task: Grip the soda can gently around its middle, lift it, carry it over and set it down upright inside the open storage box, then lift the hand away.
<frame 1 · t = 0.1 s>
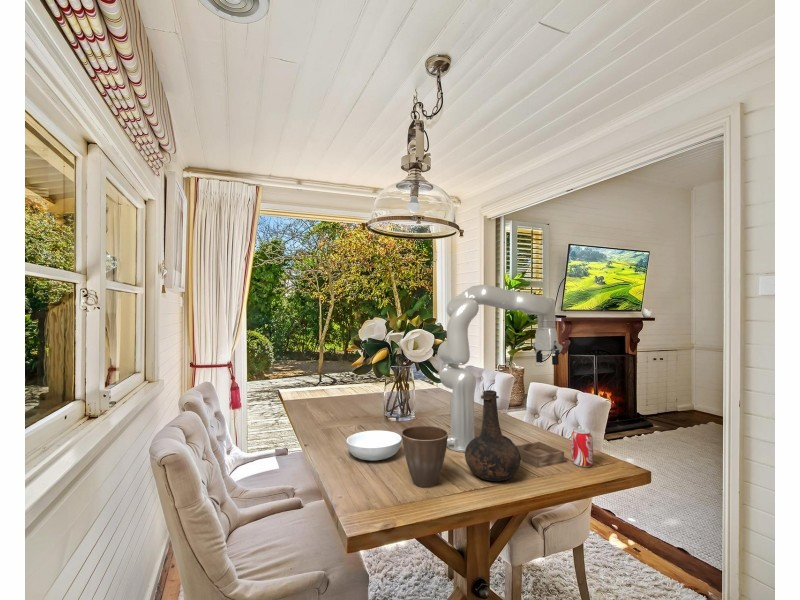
hand: (547, 363, 178), 31 cm above the table, tool pointing down, fingers open, 9 cm apart
soda can: (582, 465, 140), on the table
serving bowl: (374, 456, 149), on the table
open storage box: (538, 458, 146), on the table
glass bottle: (492, 476, 131), on the table
plant pot: (425, 483, 125), on the table
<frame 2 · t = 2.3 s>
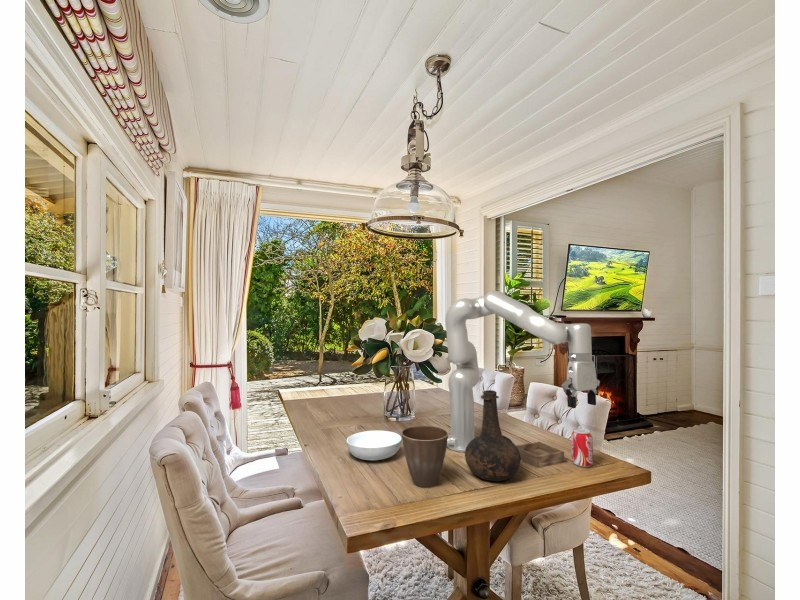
hand: (581, 405, 141), 21 cm above the table, tool pointing down, fingers open, 9 cm apart
nothing on the table moved.
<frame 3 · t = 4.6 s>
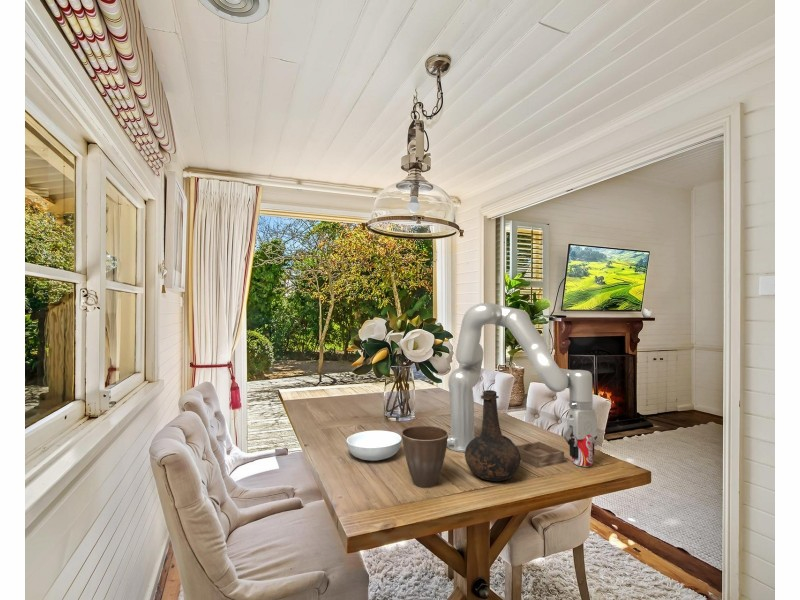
hand: (582, 455, 140), 3 cm above the table, tool pointing down, fingers closed on soda can, 7 cm apart
soda can: (582, 465, 140), on the table, touching gripper
everything else where it was.
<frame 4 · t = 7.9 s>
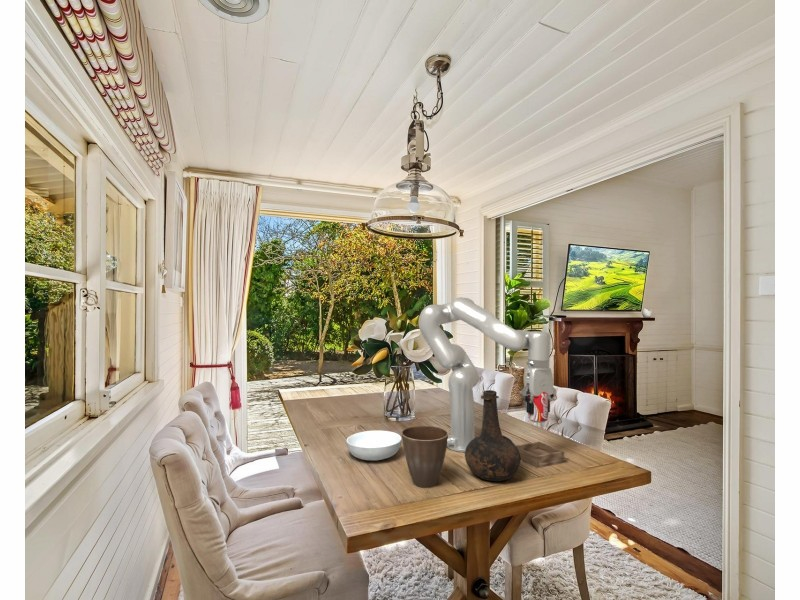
hand: (538, 411, 147), 17 cm above the table, tool pointing down, fingers closed on soda can, 7 cm apart
soda can: (538, 421, 147), point 14 cm above the table, touching gripper
everything else where it was.
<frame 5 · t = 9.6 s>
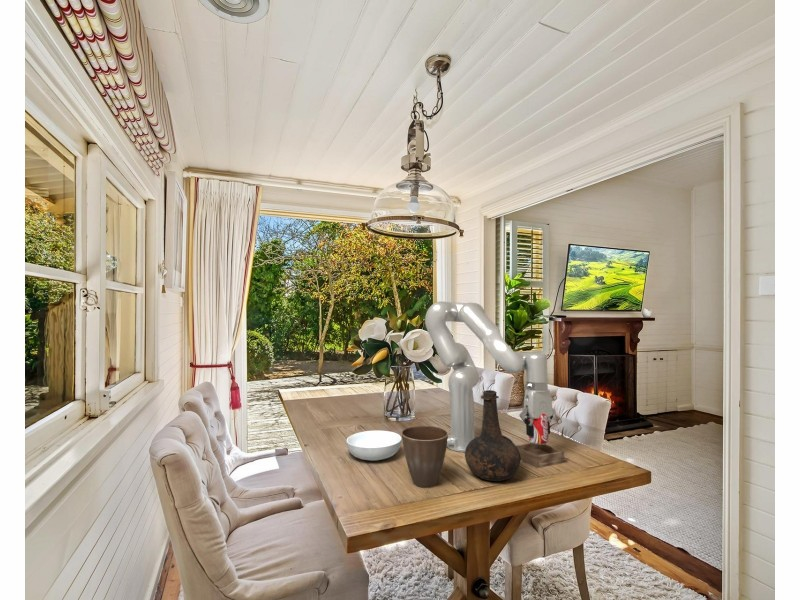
hand: (538, 433, 146), 9 cm above the table, tool pointing down, fingers closed on soda can, 7 cm apart
soda can: (538, 443, 146), point 6 cm above the table, touching gripper
everything else where it was.
when the fingers open (6 cm above the table, at t = 11.1 s): soda can drops 2 cm, resting on open storage box.
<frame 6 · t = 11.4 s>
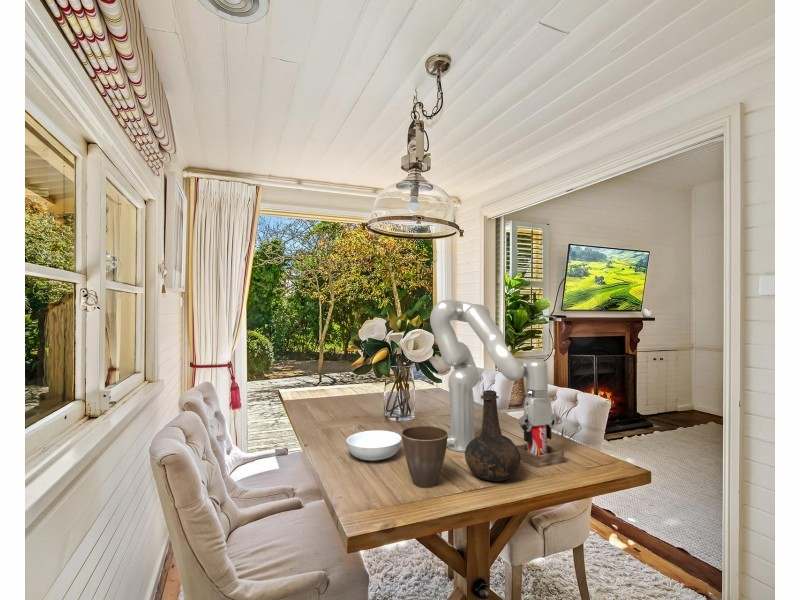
hand: (537, 439, 146), 7 cm above the table, tool pointing down, fingers open, 9 cm apart
soda can: (537, 455, 146), point 1 cm above the table, touching open storage box
everything else where it was.
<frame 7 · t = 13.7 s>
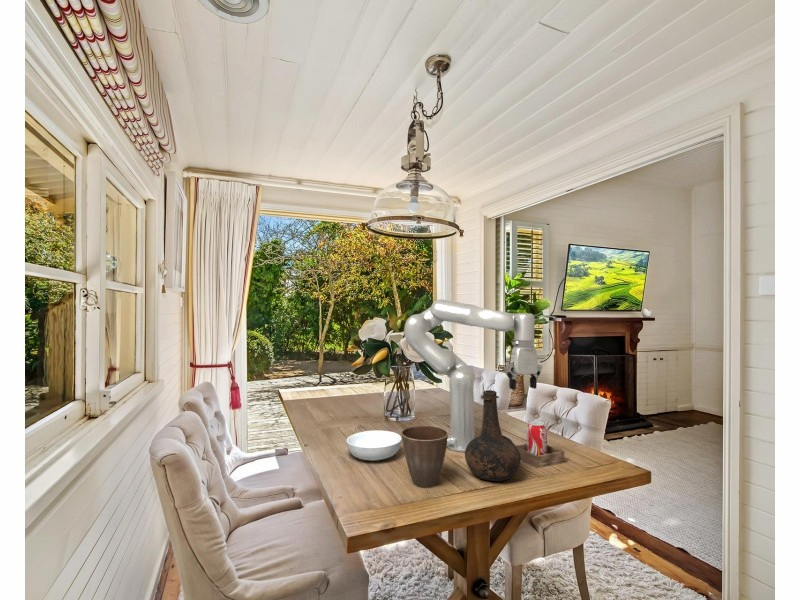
hand: (522, 388, 154), 24 cm above the table, tool pointing down, fingers open, 9 cm apart
nothing on the table moved.
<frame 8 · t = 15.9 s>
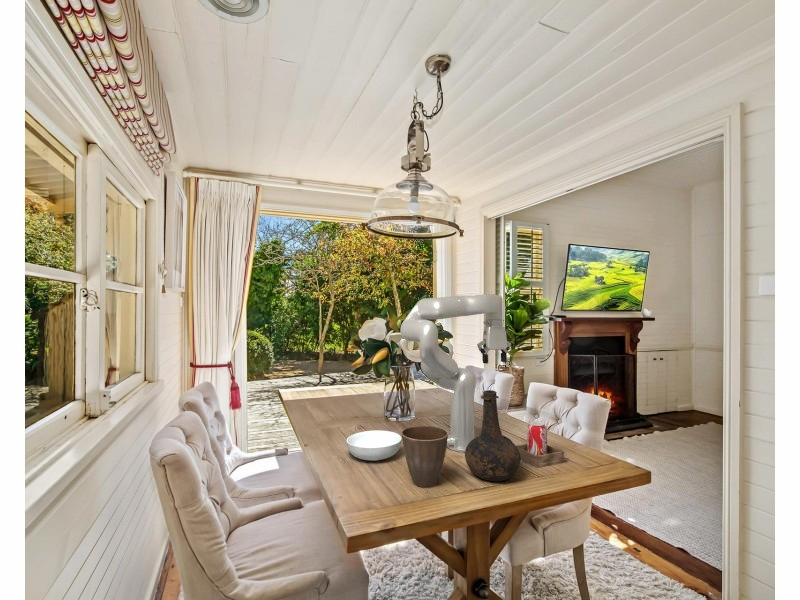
hand: (494, 362, 172), 32 cm above the table, tool pointing down, fingers open, 9 cm apart
nothing on the table moved.
at the end: soda can 0.3 cm off-centre on the open storage box, point 0.8 cm above the open storage box's base; soda can tilted 0°; the gripper is holding nothing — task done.
